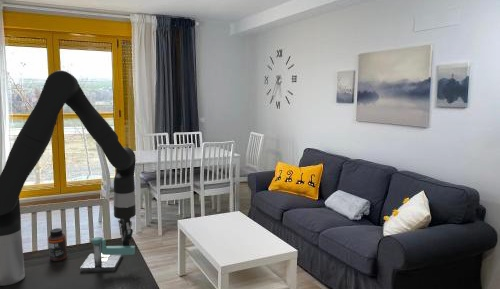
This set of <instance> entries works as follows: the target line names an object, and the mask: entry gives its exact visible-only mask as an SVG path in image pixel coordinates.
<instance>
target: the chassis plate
mask: <svg viewBox="0 0 500 289" xmlns="http://www.w3.org/2000/svg"><path fill="white" fill-rule="evenodd" d="M123 256H124V255H102V243H100V244H93V253H89V255H88V256H87V257H86V259H85V260H84V261H83V263H82V264H81V266H80V267H79V273H90V272H115V271H116V269H117V268H118V265H119V264H120V263H121V260H122V259H123Z"/></svg>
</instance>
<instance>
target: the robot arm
mask: <svg viewBox="0 0 500 289" xmlns="http://www.w3.org/2000/svg"><path fill="white" fill-rule="evenodd" d="M64 105H67V106H68V107H69V108H70V109H71V110H72V111H73V112H74V114H75V115H76V116H77V118H78V119H79V120H80V122H81V123H82V125H83V127H84V128H85V129H86V131H87V133H88V134H89V135H90V137H92V139H93V140H94V141H95V142H96V143H97V145H98V146H99V148H100V149H101V150H102V152H103V154H104V155H105V157H106V159H107V160H108V162H109V163H110V164H111V166H112V167H113V168H114V169H115V176H114V178H113V199H112V200H113V216H114V218H116V219H118V221H117V222H118V228H119V234H120V238H121V242H122V244H121V246H130V241H131V240H132V237H133V231H134V230H133V228H132V227H133V221H131V219H132V218H134V217H135V216H136V215H137V213H136V212H137V211H136V210H137V208H136V207H137V206H136V205H137V204H136V192H135V170H136V161H137V160H136V153H135V152H134V150H133V149H132V148H130V147H127V146H123V145H122V144H121V142H120V141H119V135H118V134H117V132H116V131H115V130H114V129H113V128H112V126H110V123H108V121H106V119H105V118H104V117H103V116H102V115H101V114H100V112H98V110H97V109H96V107H94V106H93V104H92V103H91V101H90V100H89V99H88V97H87V96H86V94H85V93H84V91H83V88H82V87H81V86H80V83H79V81H78V79H77V78H76V77H75V76H74V75H73V74H72V73H70V72H68V71H66V70H61V69H60V70H56V71H53V72H52V73H50V74H49V75H48V76H47V78H46V80H45V81H44V84H43V87H42V90H41V92H40V95H39V98H38V100H37V102H36V104H35V106H34V108H33V109H32V111H30V113H29V116H28V117H27V119H26V120H25V122H24V124H23V126H22V127H21V129H20V131H19V133H18V135H17V136H16V138H15V140H14V142H13V144H12V146H11V149H10V152H9V153H8V156H7V158H6V162H5V165H4V167H3V169H2V171H1V173H0V286H4V287H5V286H10V285H14V284H16V283H19V282H21V281H22V280H24V278H25V277H26V274H25V273H26V272H25V261H24V259H25V258H24V249H23V237H22V227H21V226H22V225H21V224H22V223H21V207H20V206H21V205H20V204H21V203H20V195H21V192H22V189H23V187H24V185H25V183H26V181H27V179H28V178H29V176H30V175H31V173H32V171H33V170H34V169H35V167H36V166H37V165H38V162H39V161H40V160H41V158H42V156H43V155H44V153H45V151H46V150H47V147H48V145H49V144H50V141H51V139H52V138H53V137H52V136H53V134H54V130H55V128H56V122H57V119H58V116H59V115H60V112H61V110H62V109H63V107H64Z"/></svg>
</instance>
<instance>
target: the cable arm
mask: <svg viewBox="0 0 500 289" xmlns="http://www.w3.org/2000/svg"><path fill="white" fill-rule="evenodd" d="M90 243H91V245H94V244H100V243H101V253H102V255H123V256H124V255H125V256H126V255H128V256H130V255H131V256H132V255H133V256H135V253H136V245H129V246H122V245H107V239H106V237H102V236H101V237H100V236H96V237H92V238H91V239H90Z"/></svg>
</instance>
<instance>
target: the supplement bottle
mask: <svg viewBox="0 0 500 289" xmlns="http://www.w3.org/2000/svg"><path fill="white" fill-rule="evenodd" d="M66 239H67V238H66V234H65V233H63V229H62V228H60V227H56V228H53V229H51V230H50V235H49V236H48V239H47V240H48V242H47V243H48V250H49V253H48V254H49V259H50V260H51V261H53V262H57V261H62V260H64V259H66V258H67V256H68V253H67V240H66Z"/></svg>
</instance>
